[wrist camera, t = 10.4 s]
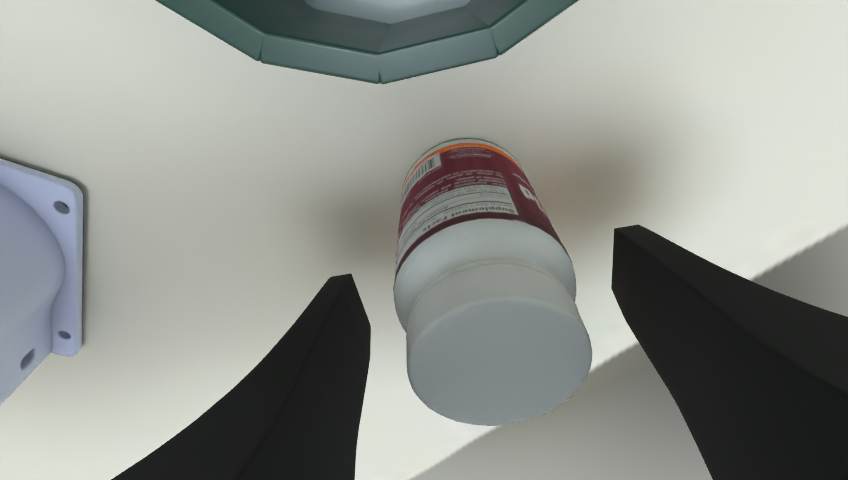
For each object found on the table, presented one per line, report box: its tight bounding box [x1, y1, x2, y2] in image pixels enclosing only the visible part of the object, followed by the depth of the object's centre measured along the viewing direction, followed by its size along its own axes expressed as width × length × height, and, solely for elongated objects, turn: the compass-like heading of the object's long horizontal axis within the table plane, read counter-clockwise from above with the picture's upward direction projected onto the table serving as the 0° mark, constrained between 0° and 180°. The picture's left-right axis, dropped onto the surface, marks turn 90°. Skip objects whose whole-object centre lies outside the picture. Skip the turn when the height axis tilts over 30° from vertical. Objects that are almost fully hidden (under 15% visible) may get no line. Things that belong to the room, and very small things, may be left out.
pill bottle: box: [393, 139, 592, 426], centre depth 13 cm, size 5×5×8 cm
